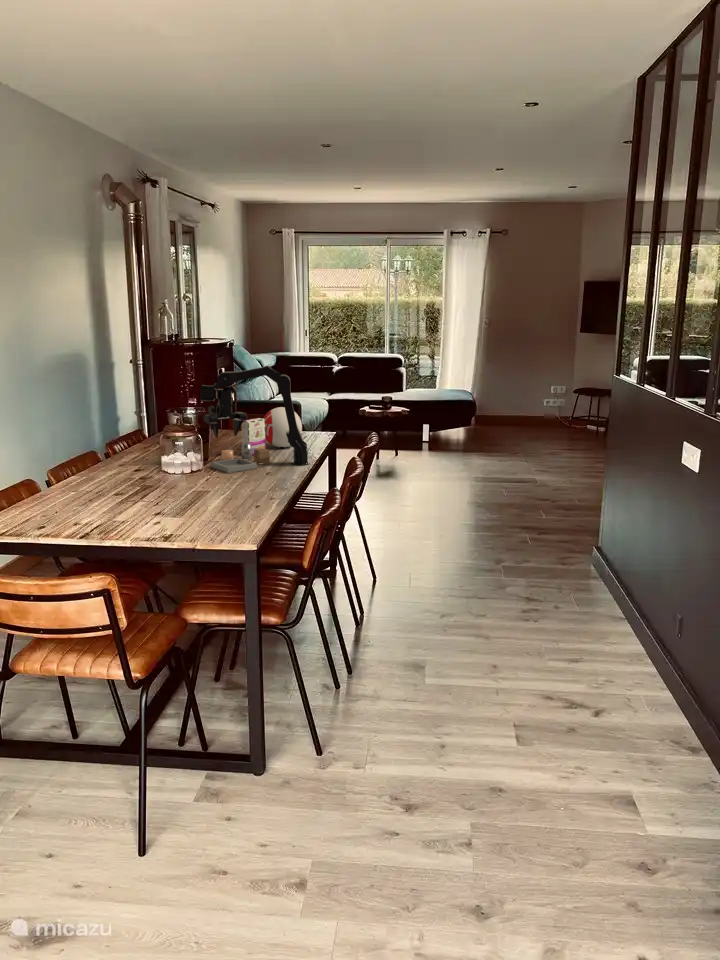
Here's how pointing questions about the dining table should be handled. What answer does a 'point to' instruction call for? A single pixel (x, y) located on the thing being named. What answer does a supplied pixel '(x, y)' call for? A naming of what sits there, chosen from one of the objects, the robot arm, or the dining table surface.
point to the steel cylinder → (246, 451)
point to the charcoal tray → (234, 465)
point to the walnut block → (261, 455)
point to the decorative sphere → (278, 427)
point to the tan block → (227, 454)
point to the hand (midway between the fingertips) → (225, 436)
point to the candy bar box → (254, 433)
